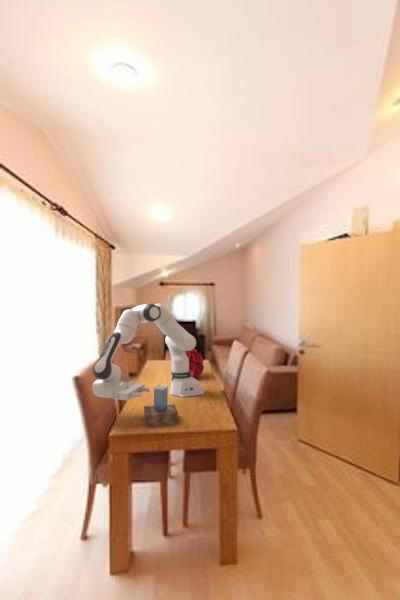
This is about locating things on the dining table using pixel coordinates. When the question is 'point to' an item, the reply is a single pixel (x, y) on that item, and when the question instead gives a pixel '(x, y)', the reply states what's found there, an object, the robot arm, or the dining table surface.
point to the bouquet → (195, 362)
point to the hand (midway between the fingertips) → (145, 392)
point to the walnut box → (160, 416)
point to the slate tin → (160, 398)
